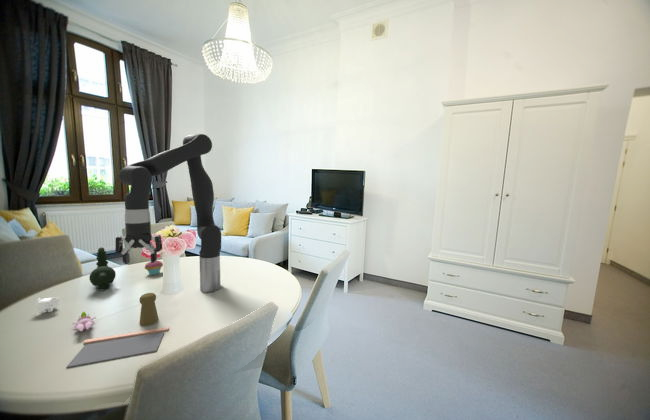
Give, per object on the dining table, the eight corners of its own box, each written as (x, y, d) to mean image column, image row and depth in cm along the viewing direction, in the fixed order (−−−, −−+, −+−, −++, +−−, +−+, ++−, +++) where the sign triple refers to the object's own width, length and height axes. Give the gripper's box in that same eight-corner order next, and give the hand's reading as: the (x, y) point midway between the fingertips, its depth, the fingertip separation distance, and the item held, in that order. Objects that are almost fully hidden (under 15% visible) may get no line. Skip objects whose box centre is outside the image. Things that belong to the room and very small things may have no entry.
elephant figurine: (28, 317, 95) (27, 302, 94) (47, 306, 103) (46, 293, 102) (50, 315, 96) (48, 301, 95) (66, 305, 104) (65, 292, 103)
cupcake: (153, 270, 146) (153, 250, 144) (166, 271, 145) (166, 251, 143) (141, 275, 137) (140, 254, 136) (155, 276, 136) (153, 255, 135)
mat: (164, 333, 88) (164, 332, 88) (156, 351, 79) (156, 350, 79) (85, 345, 80) (85, 344, 80) (66, 368, 71) (66, 366, 71)
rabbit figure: (72, 326, 93) (72, 339, 82) (71, 310, 93) (70, 321, 82) (95, 320, 97) (97, 331, 86) (94, 305, 97) (96, 314, 86)
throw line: (169, 328, 91) (168, 326, 91) (168, 330, 90) (168, 329, 90) (85, 341, 82) (85, 339, 82) (83, 344, 81) (83, 342, 81)
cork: (148, 327, 91) (147, 299, 90) (135, 324, 93) (133, 296, 91) (162, 318, 97) (161, 291, 96) (149, 316, 99) (148, 289, 97)
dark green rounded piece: (91, 283, 129) (89, 296, 111) (88, 247, 128) (86, 255, 110) (115, 278, 136) (117, 291, 117) (112, 244, 135) (114, 251, 116)
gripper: (163, 219, 97) (165, 258, 99) (120, 219, 93) (123, 260, 95) (155, 222, 90) (157, 265, 92) (109, 222, 86) (112, 267, 88)
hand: (140, 262), depth 94 cm, fingers open, 8 cm apart
